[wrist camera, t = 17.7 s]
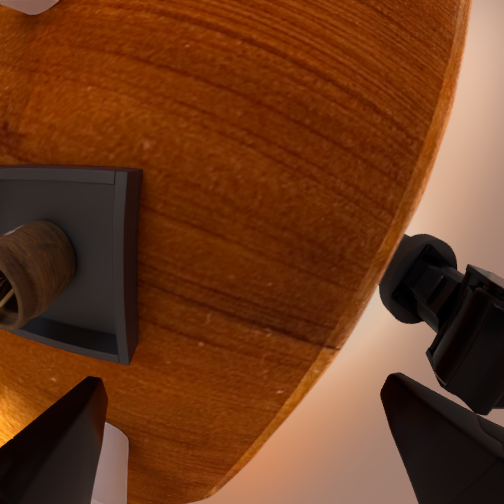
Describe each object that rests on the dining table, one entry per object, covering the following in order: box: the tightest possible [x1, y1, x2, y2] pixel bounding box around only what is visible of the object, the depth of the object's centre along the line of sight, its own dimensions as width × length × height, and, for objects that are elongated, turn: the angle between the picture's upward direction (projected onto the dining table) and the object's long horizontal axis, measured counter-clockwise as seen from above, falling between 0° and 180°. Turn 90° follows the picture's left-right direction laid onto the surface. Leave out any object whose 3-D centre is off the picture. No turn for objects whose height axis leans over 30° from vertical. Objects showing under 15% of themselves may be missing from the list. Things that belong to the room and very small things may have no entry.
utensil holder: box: [0, 220, 76, 331], centre depth 12 cm, size 6×6×12 cm
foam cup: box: [91, 422, 129, 504], centre depth 20 cm, size 10×9×13 cm
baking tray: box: [0, 165, 142, 365], centre depth 17 cm, size 16×14×3 cm
